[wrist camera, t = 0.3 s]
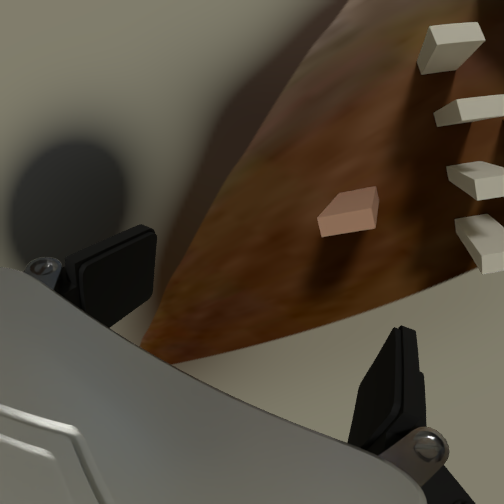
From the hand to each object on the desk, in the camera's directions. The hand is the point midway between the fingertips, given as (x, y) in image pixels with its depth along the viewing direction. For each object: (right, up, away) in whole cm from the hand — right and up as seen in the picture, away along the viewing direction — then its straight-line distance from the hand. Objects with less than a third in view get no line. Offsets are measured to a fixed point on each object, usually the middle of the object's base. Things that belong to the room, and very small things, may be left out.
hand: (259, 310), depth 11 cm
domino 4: (+23, +11, +17) cm, 30 cm away
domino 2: (+20, +22, +14) cm, 33 cm away
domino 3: (+21, +16, +15) cm, 31 cm away
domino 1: (+12, +8, +23) cm, 27 cm away
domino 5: (+25, +5, +18) cm, 31 cm away
